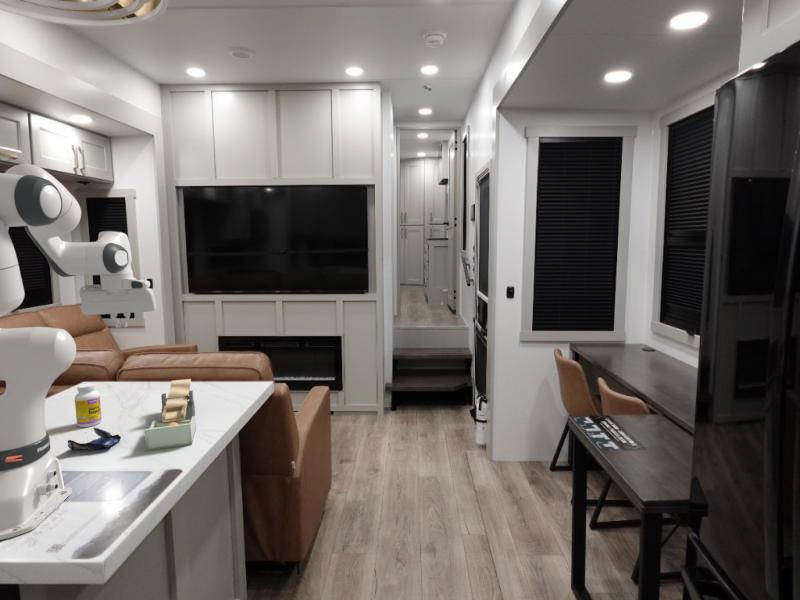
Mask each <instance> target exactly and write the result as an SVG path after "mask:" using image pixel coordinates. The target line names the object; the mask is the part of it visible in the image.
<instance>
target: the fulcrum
mask: <svg viewBox="0 0 800 600" xmlns="http://www.w3.org/2000/svg"><path fill="white" fill-rule="evenodd" d="M166 398H167V393H166V392H165V393H162V394H161V414H162V413H163V409H164V406H166ZM192 416H195V417H196V407H195V400H194V391H193V390H191V389H190V390H189V400H188V402H187V408H186V414H185V420H191V419H192ZM179 421H184V420H179ZM171 422H176V421H171ZM161 423H168V422H163V421H162V420H161Z"/></svg>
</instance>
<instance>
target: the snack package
mask: <svg viewBox="0 0 800 600" xmlns="http://www.w3.org/2000/svg"><path fill="white" fill-rule="evenodd" d="M92 430H93V432H94V433H95V434H96V435H97V436H98V438H94V439H92V440H90V441H88V440H87V442H85V443H84V442H83V443H81V442H80V443H79V442H77V441H75V440H72V439H68V440H67V447H68V448H69V449H70V451H74V450H89V451H90V450H91V451H92V450H98V449H102V448H108V449H111V448H112V447H113V446H116V445H117V444H119V443H120V442H121V439H122V436H120V435H119V434H117V433H116V434H115V435H112V433H110V432H109V431H107V430H103V429H101V428H98V427H93V428H92ZM85 433H87V432H85Z"/></svg>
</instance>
